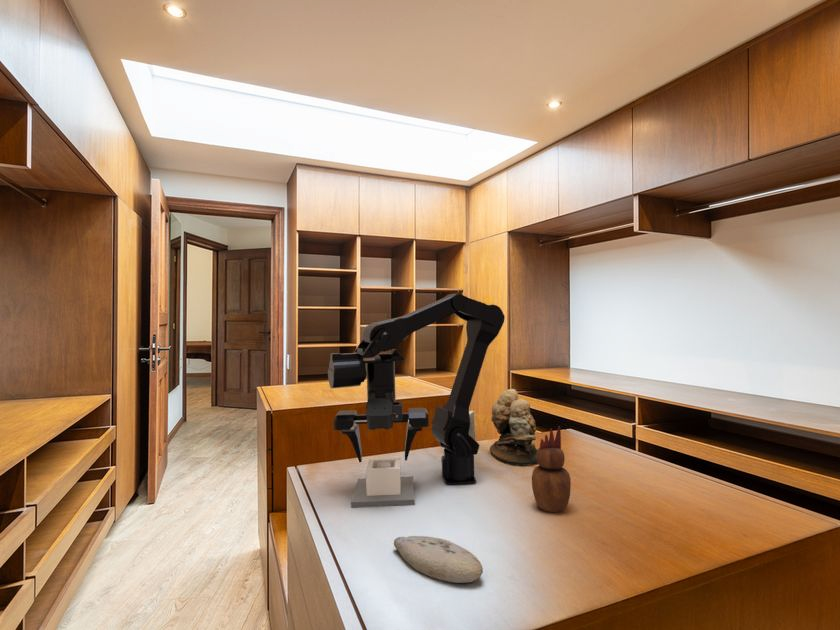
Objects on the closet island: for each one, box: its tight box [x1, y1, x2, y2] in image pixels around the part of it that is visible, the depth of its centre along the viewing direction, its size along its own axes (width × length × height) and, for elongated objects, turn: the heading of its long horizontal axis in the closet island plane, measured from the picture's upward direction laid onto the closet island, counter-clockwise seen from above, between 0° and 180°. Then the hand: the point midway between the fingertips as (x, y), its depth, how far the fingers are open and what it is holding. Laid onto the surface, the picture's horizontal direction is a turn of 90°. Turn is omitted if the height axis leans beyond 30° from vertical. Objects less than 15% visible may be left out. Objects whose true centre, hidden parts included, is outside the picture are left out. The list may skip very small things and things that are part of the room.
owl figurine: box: [489, 388, 539, 467], centre depth 110 cm, size 18×12×17 cm, turn 12°
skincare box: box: [469, 410, 476, 441], centre depth 115 cm, size 5×4×10 cm
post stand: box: [350, 462, 416, 509], centre depth 89 cm, size 12×12×6 cm
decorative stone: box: [393, 535, 484, 584], centre depth 62 cm, size 6×16×3 cm, turn 53°
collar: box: [365, 457, 402, 496], centre depth 89 cm, size 7×7×5 cm
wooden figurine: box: [531, 425, 572, 513], centre depth 80 cm, size 7×6×15 cm
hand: (383, 460), depth 89 cm, fingers open, 9 cm apart
